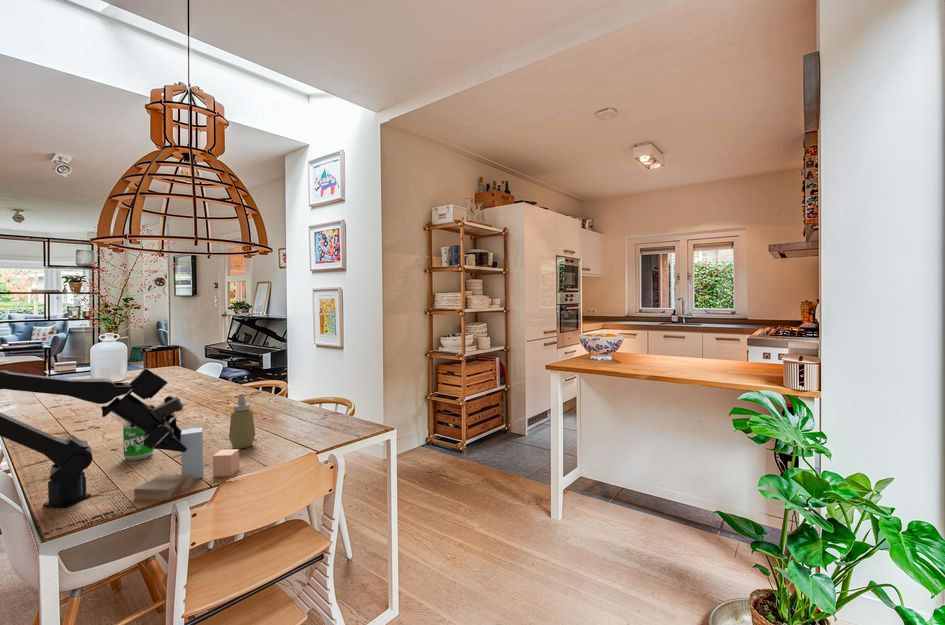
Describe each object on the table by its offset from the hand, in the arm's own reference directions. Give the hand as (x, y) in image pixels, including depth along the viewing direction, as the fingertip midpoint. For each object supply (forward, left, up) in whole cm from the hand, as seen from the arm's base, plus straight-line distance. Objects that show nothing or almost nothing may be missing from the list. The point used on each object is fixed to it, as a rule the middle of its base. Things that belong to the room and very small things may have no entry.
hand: (186, 445), depth 122 cm
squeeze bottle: (+26, 0, -9) cm, 27 cm away
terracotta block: (+4, -9, -9) cm, 13 cm away
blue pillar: (+1, -1, -9) cm, 9 cm away
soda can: (+14, +27, -9) cm, 32 cm away
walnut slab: (-9, -1, -9) cm, 13 cm away
